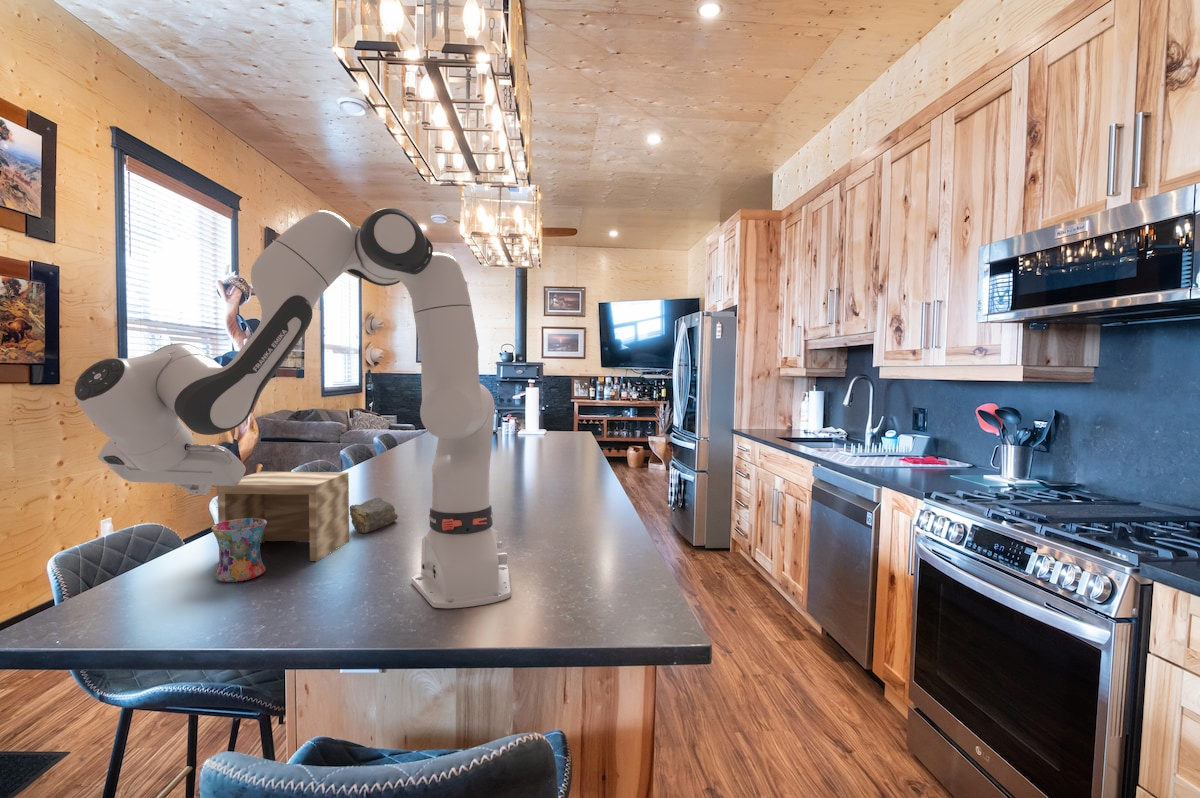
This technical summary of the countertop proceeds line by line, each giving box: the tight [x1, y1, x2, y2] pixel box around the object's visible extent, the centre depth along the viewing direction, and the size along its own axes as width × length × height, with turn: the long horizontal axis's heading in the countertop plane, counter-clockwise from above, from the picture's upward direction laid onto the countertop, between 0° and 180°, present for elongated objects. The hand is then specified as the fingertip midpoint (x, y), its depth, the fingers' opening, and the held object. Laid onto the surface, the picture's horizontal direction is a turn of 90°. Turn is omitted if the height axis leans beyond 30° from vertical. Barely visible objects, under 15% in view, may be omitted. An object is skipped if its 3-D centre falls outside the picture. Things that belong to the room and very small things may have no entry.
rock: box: [349, 496, 399, 534], centre depth 152 cm, size 17×7×10 cm
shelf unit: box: [217, 471, 350, 562], centre depth 131 cm, size 16×21×16 cm
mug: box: [210, 518, 267, 583], centre depth 116 cm, size 12×9×11 cm
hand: (201, 491), depth 105 cm, fingers closed
